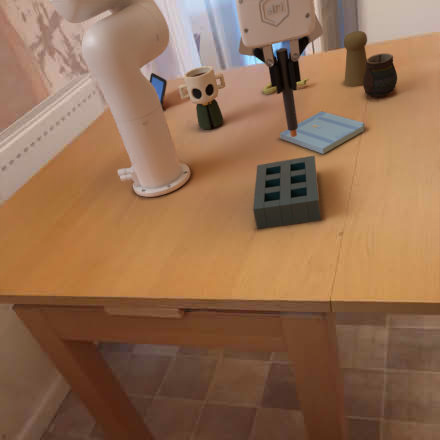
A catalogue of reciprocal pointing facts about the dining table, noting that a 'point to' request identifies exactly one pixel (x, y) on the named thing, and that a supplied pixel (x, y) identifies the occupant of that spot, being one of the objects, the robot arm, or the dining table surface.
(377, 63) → the mate gourd
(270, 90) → the key
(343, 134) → the light blue flat board
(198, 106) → the character mug
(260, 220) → the pen stand
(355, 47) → the cork
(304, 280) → the dining table surface
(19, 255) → the dining table surface
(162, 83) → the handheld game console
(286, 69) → the stylus
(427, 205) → the dining table surface
